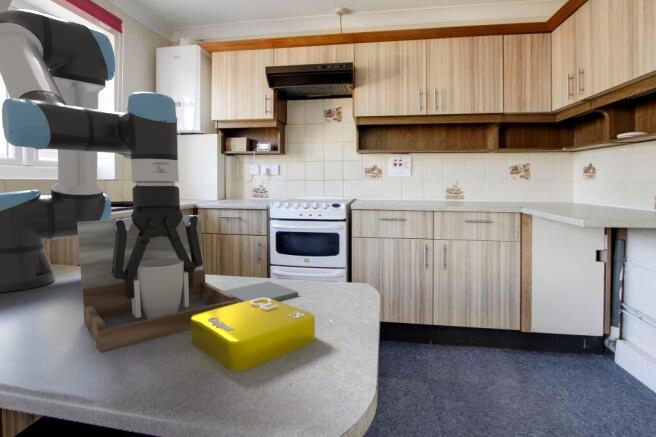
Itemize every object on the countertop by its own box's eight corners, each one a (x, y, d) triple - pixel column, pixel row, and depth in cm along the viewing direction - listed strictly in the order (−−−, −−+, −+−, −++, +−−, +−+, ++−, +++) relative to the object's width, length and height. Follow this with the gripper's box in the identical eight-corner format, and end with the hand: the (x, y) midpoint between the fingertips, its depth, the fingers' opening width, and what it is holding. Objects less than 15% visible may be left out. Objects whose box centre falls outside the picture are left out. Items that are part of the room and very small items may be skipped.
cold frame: (83, 320, 65) (77, 222, 64) (203, 296, 80) (200, 215, 78) (100, 352, 53) (92, 230, 51) (238, 316, 67) (235, 220, 65)
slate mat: (223, 294, 81) (223, 290, 81) (269, 284, 89) (269, 281, 89) (249, 307, 72) (249, 303, 72) (298, 295, 80) (298, 291, 80)
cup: (193, 309, 70) (191, 258, 69) (171, 325, 62) (168, 268, 61) (153, 307, 70) (151, 257, 69) (126, 323, 62) (123, 267, 61)
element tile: (186, 342, 57) (185, 312, 57) (265, 317, 68) (264, 292, 67) (236, 377, 46) (235, 341, 46) (320, 342, 57) (320, 312, 57)
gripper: (91, 184, 54) (100, 331, 56) (220, 184, 68) (223, 303, 70) (83, 184, 60) (92, 317, 62) (204, 184, 73) (207, 294, 75)
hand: (161, 309), depth 66 cm, fingers closed on cup, 8 cm apart
